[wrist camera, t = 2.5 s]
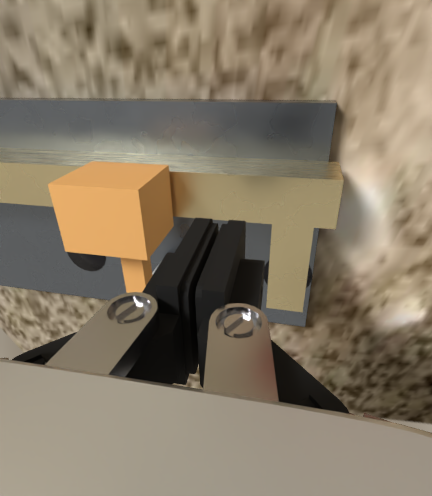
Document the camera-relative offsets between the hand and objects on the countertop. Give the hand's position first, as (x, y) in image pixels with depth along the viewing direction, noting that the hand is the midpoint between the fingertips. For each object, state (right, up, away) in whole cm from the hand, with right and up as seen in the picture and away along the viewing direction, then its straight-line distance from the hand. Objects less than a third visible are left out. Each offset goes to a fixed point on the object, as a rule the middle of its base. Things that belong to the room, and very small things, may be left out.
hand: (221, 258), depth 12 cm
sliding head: (-4, +2, +9) cm, 10 cm away
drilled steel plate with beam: (-6, +3, +12) cm, 13 cm away
